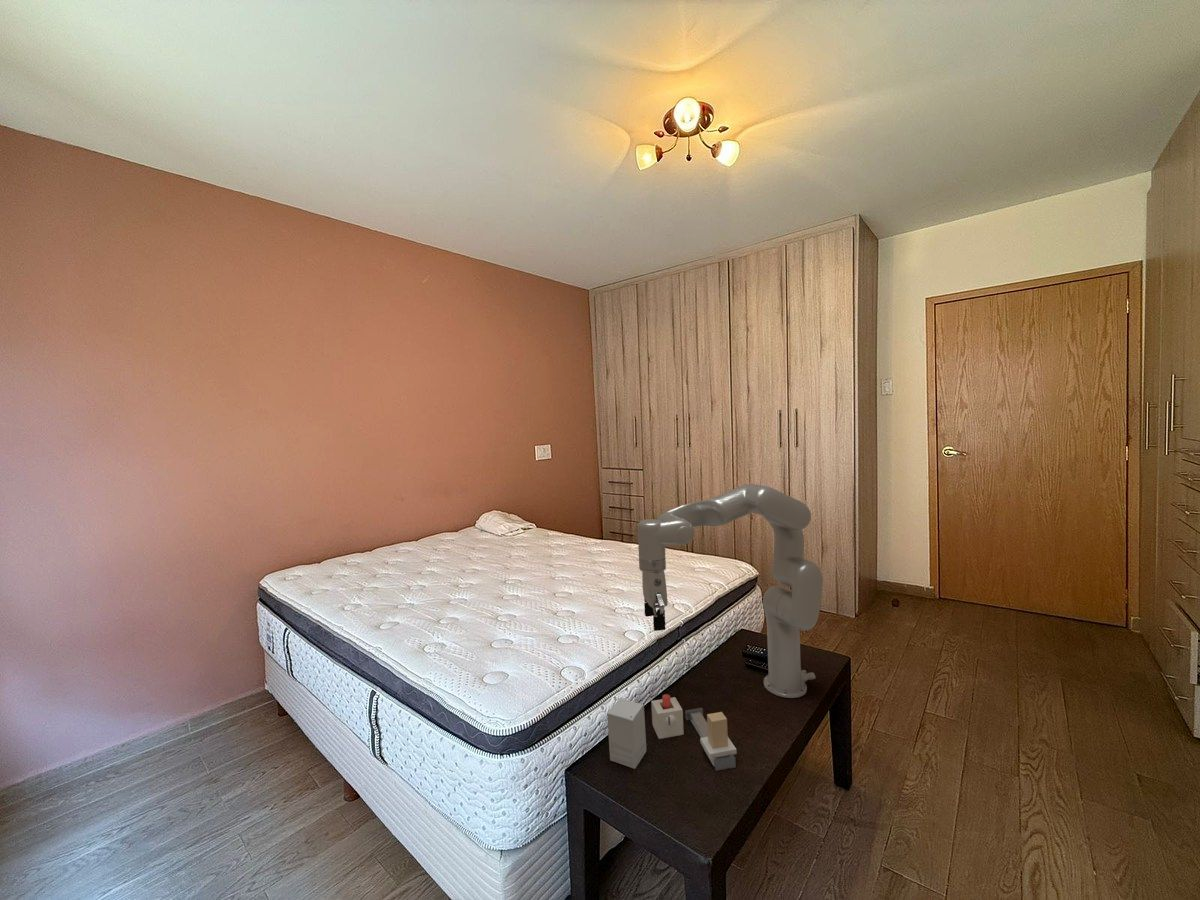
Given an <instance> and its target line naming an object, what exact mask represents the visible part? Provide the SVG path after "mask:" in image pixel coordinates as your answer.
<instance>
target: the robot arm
mask: <svg viewBox="0 0 1200 900" xmlns="http://www.w3.org/2000/svg"><path fill="white" fill-rule="evenodd" d="M750 514H757V515H761V516H762V517H763V518H764V519H765V520H766V521H767V522H768V524H769V525H770V526H771V528H772V531H773V533H774V547H773V554H772V555H773V556H772V563H771V574H772V575H771V576H772V577H773V579H774V580H776V581H777V582H779V583H780V584H783V585H785V586H787V587H789V588H791V589H789V588H787V587H785V586H781V585H773V586H771V587H769V588H768V589H766V591H765V592H764V594H763V598H762V606H763V611H764V616H765V621H766V631H767V632H766V633H767V634H766V636H767V637H766V638H767V641H766V642H767V664H768V665H767V666H768V667H767V668H768V674H767V675H766V676H765V677H763V686H764V688H765V689H766V690H767V691H768V692H769V693H771V694H772V695H775V696H778V697H781V698H788V699H795V698H797V699H798V698H800V697H803V696H804V695H806V694H807V691H808V687H807V684H806V682H807V681H808V680H809V681H811V680H815V679H816V675H815V673H814V672H807V670H805V669H802V667H801V665H802V663H801V634H800V632H801V631H802V632H807V631H810V630H812V629H813V628H814V627H815V626H816V624H817V622H818V619H819V616H820V609H821V602H822V593H823V586H824V585H823V583H824V579H823V574H822V571H821V568H820V567H819V566H818V564H816V563H814V562H813V561H811V560H808V559H805V558H804V551H805V536H804V531H803V530H804V529H805V528H807V527H808V526H809V524H810V522H811V519H812V513H811V510H810V508H809V507H808V505H807V504H806V503H804V501H803V502H802V501H801V500H798V499H797V498H795V497H792V496H790V495H788V494H786V493H783V492H781V491H779V490H777V489H775V488H773V487H771V486H768V485H767V486H766V485H761V484H756V483H747V484H743V485H740V486H738V487H735V488H734V489H731V490H728V491H726V492H723V493H721V494H719V495H716V496H714V497H712V498H708V499H707V498H706V499H703V500H699V501H694V502H690V503H686V504H683V505H679V506H677V507H674V508H672V509H669V510H668V511H665V512H663V513H661V514H660V515H659V516H658V517H657V518H647V519H642V520H640V521H639V522H638V524H637V543H638V544H637V545H638V546H637V547H638V568H639V571H641V573H642V576H641V577H642V578H641V579H642V580H641V582H642V593H643V595H642V596H643V597H644V598H643V601H644V603H643V604H644V616H645V617H652V619H653V620H652V621H653V622H652V623H653V630H654V631H655V632H660V631H665V630H666V610H665V607H667V606H668V602H669V601H668V591H667V582H666V581H667V579H666V574H665V571H666V570H667V563H666V562H667V561H666V560H667V559H666V546H684V545H687V544H689V543H690V542H691V541H692V540H693V539H694V536H695V528H696V527H702V526H703V527H704V526H706V527H718V526H725V525H727V524H730V523H732V522H734V521H736V520H739V519H741V518H744V517H745V516H748V515H750ZM694 527H695V528H694Z"/></svg>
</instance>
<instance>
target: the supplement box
mask: <svg viewBox="0 0 1200 900" xmlns="http://www.w3.org/2000/svg"><path fill="white" fill-rule="evenodd" d="M606 719H607V731H608V732H607V733H608V745H609V747H608V748H609V750H608V751H609V761H611V762H614V763H617V764H620V765H623V766H626V767H629V768H631V769H634V770H635V769H637V767H638V765H639V764H640V762H641V760H642V759H643V758H644V755H646V753H647V736H646V720H645V719H646V718H645V705H644V704H642V703H639V702H636V701H632V700H628V699H626V698H622V697H620V698H619V699H618V700H617V701H616V702H615V703H614V704H613V705H612V707H611V708H610V709H609V710H608V711H607V712H606Z"/></svg>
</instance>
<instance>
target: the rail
mask: <svg viewBox="0 0 1200 900" xmlns="http://www.w3.org/2000/svg"><path fill="white" fill-rule="evenodd" d="M685 720H686V721H689V720H690V722H691V724H692V725H693V727H694V729H695V730H696V732H697V733H698V735H699V737H700V738H703V737H708V728H707V719H706V718H705V717H704V708H703V707H698V708H692V709H691V708H690V709H686V710H685ZM733 768H737V767H736V757H735V755H733V756H729V755H728V756H722V757H717V759H715V766H714V769H715V771H716V772H718V771H724V770H729V769H733Z"/></svg>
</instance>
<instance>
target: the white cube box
mask: <svg viewBox="0 0 1200 900" xmlns="http://www.w3.org/2000/svg"><path fill="white" fill-rule="evenodd" d="M670 701H671V708H670V709H664V710H663V702H662V698H660V699H655V700H651V701H650V702H651V720H652V722H651V723H652V724H651V725H652V726H653V730H654V731H655V733H656V736H657V738H658V740H660V739H661V740H663V739H667V738H672V737H676V736H682V735H684V732H685V731H684V711H683V708H682V706H681V705H680V703H679V701H678V700H677V698H676V697H675V696H674V697H670Z"/></svg>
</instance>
